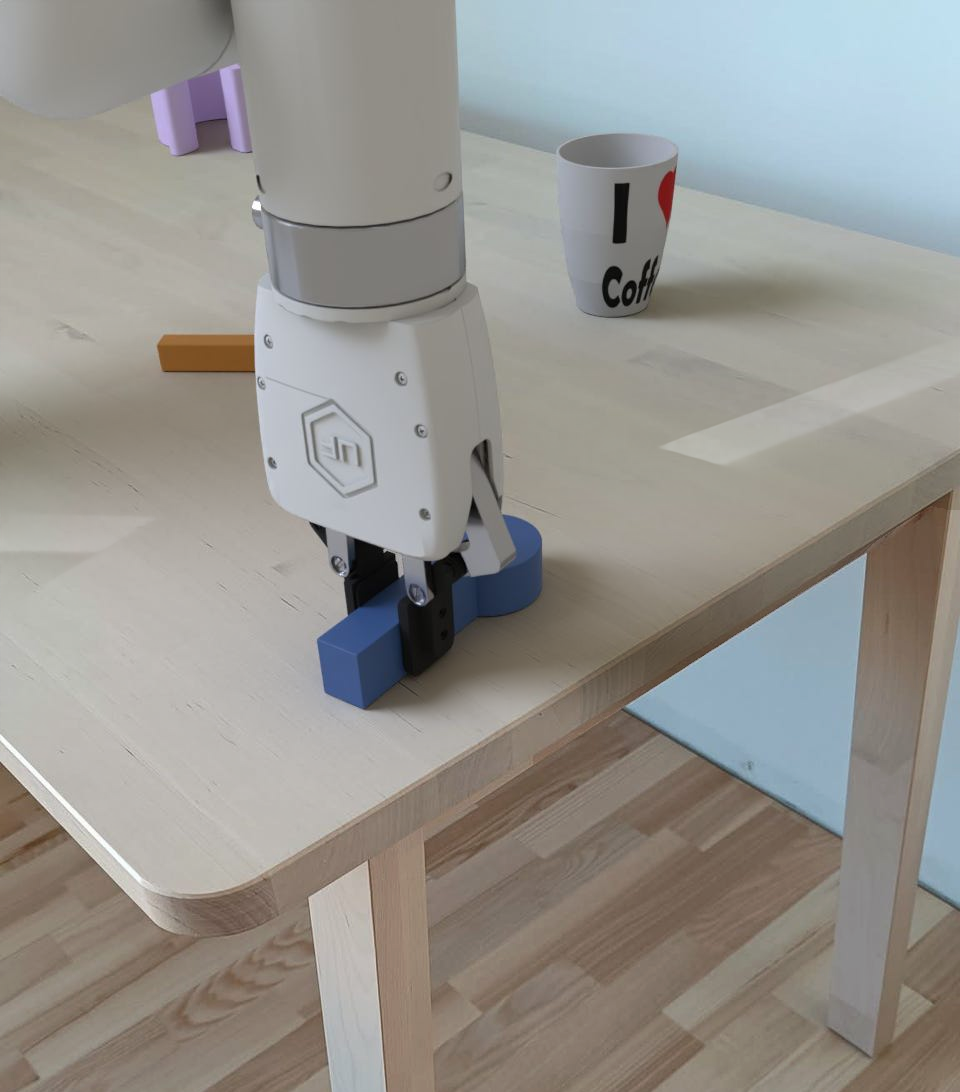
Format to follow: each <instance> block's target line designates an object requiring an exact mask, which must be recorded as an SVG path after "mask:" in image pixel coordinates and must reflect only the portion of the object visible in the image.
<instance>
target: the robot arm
mask: <svg viewBox="0 0 960 1092" xmlns="http://www.w3.org/2000/svg"><path fill="white" fill-rule="evenodd" d="M457 33H458V31H457V7H456V0H0V97H1V98H3V99H4V100H6V101H7V102H9V103H11V104H12V105H14V106H16V107H18V108H20V109H22V110H24V111H26V112H28V113H30V114H33V115H36V116H39V117H44V118H48V119H53V120H61V121H73V120H83V119H89V118H92V117H95V116H98V115H102V114H104V113H107V112H110V111H113V110H115V109H117V108H121V107H123V106H125V105H128V104H130V103H133V102H137V101H138V100H141V99H143V98H145V97H148V96H150V94H153V93H155V92H158V91H160V90H163V89H165V88H167V87H170V86H172V85H175V84H177V83H180V82H182V81H184V80H189V79H193V78H196V77H199V76H202V75H205V74H209V73H211V72H214V71H217V70H220V69H223V68H226V67H229V66H231V65H234V64H237V63H239V62H240V69H241V76H242V82H243V89H244V96H245V103H246V110H247V117H248V124H249V131H250V138H251V145H252V151H251V152H252V158H253V164H254V170H255V172H254V173H255V178H256V185H257V191H258V194H257V195H256V197H255V198H254V200H253V203H252V207H251V208H252V209H251V215H252V220H253V222H254V225H255V226H256V227H257V228H258V229H259V230H263V236H264V243H265V244H264V245H265V250H266V256H267V263H268V272H266V273H264V274H263V275H262V276H261V277H260V278H259V280H258V282H257V291H256V300H255V311H254V312H255V313H254V335H255V336H254V342H255V371H254V373H255V389H256V390H255V391H256V392H255V393H256V401H257V402H256V403H257V413H258V415H257V416H258V424H259V434H260V441H261V450H262V456H263V463H264V469H265V475H266V481H267V484H268V489H269V492H270V495H271V498H272V499H273V500H274V502H276V503H277V505H278V506H279V507H280V508H281V509H283V510H284V511H286V512H287V513H289V514H291V515H293V516H295V517H297V518H300V519H302V520H304V521H306V522H308V523H309V525H310V527H311V528H312V530H313V531H314V533H315V534H316V535H317V536H318V538H319V540H320V541H321V542H322V543H323V544H324V545H325V547H326V548H327V556H328V563H329V567H330V569H331V570H332V571H333V573H334V574H336V576H338V577H340V578H343V587H344V588H343V589H344V596H345V604H346V613H347V616H348V615H350V614H351V613H352V612H354V611H355V610H356V609H358V608H360V607H361V606H362V605H364V604H365V603H367V602H368V601H369V600H371V599H372V598H373V597H375V596H376V595H377V594H379V593H380V592H381V591H383V590H384V589H385V588H387V587H388V586H389V585H391V584H392V583H393V582H395V581H396V580H397V579H399V578H400V574H399V563H398V561H397V555H396V554H399V555H401V560H402V561H401V562H402V568H403V575H404V577H405V585H406V592H407V595H406V596H405V597H403V598H402V599H401V600H400V601H399V602H398V606H397V609H398V620H399V624H400V633H401V644H402V654H403V665H404V668H405V671H406V672H407V673H408V674H410V675H412V676H414V677H418V676H420V675H421V674H422V673H423V672H425V671H426V670H427V669H428V668H430V667H431V666H432V665H433V664H434V663H435V662H436V661H437V660H439V659H440V658H441V657H443V656H444V655H445V654H446V653H448V651H450V650H451V649H452V647H453V645H454V641H455V636H456V634H455V630H454V612H453V595H452V584H454V583H455V582H456V581H458V580H459V579H460V578H462V577H467V576H470V577H475V576H482V575H489V574H495V573H498V572H499V571H500V570H502V569H503V568H504V567H506V566H507V565H508V564H509V563H511V562H512V561H513V560H514V559H515V558H516V554H517V552H516V548H515V546H514V543H513V541H512V538H511V536H510V533H509V531H508V528H507V526H506V523H505V520H504V518H503V515H502V514H503V513H502V510H503V509H502V508H503V503H504V502H503V501H504V488H505V487H504V486H505V464H504V446H503V430H502V419H501V412H500V411H501V409H500V400H499V393H498V384H497V377H496V369H495V363H494V358H493V352H492V346H491V341H490V335H489V331H488V326H487V321H486V316H485V312H484V308H483V304H482V299H481V296H480V295H481V294H480V292H479V288H478V286H477V285H475V284H473V283H471V282H468V281H467V256H466V253H467V252H466V231H465V230H466V228H465V206H464V204H465V203H464V190H463V169H462V167H463V166H462V164H463V163H462V139H461V138H462V137H461V114H460V113H461V112H460V82H459V81H460V79H459V59H458V57H459V56H458V35H457ZM465 532H466V535H467V537H468V539H466V540H464V541H462V539H463V536H464V533H465ZM385 550H386V551H385ZM431 561H435V563H434V564H432V565H431Z"/></svg>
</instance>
